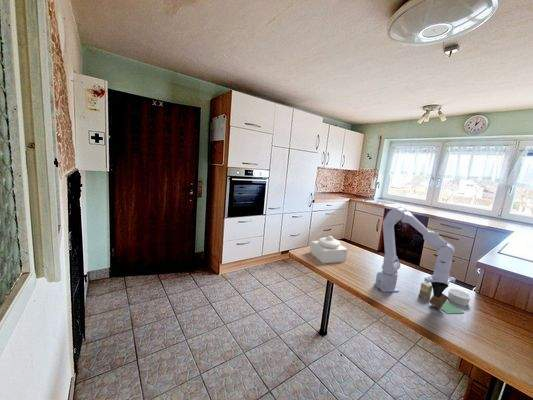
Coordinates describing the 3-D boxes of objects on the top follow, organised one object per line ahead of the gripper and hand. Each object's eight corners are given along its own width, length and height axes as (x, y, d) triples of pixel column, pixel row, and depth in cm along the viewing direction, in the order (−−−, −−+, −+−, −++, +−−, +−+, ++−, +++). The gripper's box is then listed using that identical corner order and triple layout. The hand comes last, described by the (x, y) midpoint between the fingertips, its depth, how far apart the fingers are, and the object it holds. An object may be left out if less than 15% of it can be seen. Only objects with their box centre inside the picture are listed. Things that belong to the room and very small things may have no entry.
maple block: (425, 299, 117) (428, 286, 115) (418, 295, 120) (421, 282, 119) (430, 297, 118) (432, 285, 117) (423, 294, 121) (425, 281, 120)
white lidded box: (310, 252, 166) (312, 231, 163) (331, 251, 171) (334, 230, 168) (322, 263, 150) (325, 240, 147) (346, 261, 155) (349, 239, 152)
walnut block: (434, 306, 108) (443, 294, 107) (428, 301, 111) (437, 290, 111) (439, 309, 109) (448, 297, 108) (433, 304, 112) (441, 293, 112)
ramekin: (456, 295, 122) (458, 288, 121) (474, 306, 114) (476, 298, 113) (442, 296, 120) (444, 288, 120) (459, 307, 112) (460, 299, 111)
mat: (447, 313, 106) (447, 313, 106) (429, 300, 116) (429, 300, 115) (464, 313, 107) (464, 312, 107) (444, 300, 117) (445, 299, 117)
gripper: (435, 273, 102) (429, 301, 104) (464, 273, 104) (457, 300, 106) (423, 266, 109) (417, 292, 111) (449, 266, 111) (443, 291, 113)
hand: (436, 295), depth 109 cm, fingers closed
